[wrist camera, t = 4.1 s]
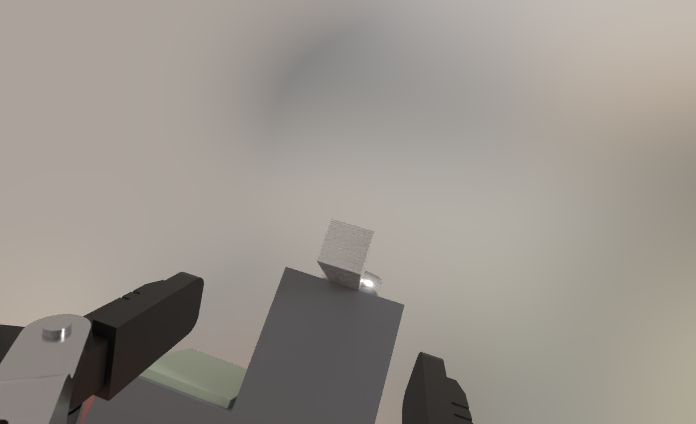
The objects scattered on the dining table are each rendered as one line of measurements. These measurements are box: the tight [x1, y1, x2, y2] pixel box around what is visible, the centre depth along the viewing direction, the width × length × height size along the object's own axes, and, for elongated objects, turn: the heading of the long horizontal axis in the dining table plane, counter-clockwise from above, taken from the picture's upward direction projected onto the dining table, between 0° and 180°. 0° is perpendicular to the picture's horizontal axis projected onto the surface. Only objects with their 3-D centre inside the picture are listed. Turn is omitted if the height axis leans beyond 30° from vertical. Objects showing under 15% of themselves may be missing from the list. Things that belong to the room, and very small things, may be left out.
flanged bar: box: [317, 219, 382, 296], centre depth 28 cm, size 6×21×2 cm, turn 178°
